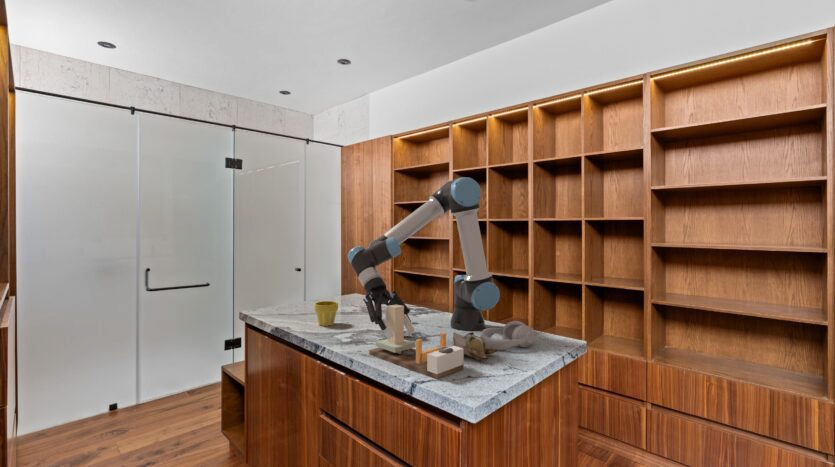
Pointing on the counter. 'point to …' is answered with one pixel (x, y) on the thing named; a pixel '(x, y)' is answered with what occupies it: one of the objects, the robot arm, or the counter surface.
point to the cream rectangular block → (444, 359)
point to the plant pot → (326, 312)
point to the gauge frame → (423, 355)
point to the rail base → (410, 361)
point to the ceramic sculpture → (473, 346)
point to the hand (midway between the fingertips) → (401, 334)
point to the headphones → (509, 336)
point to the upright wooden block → (396, 331)
